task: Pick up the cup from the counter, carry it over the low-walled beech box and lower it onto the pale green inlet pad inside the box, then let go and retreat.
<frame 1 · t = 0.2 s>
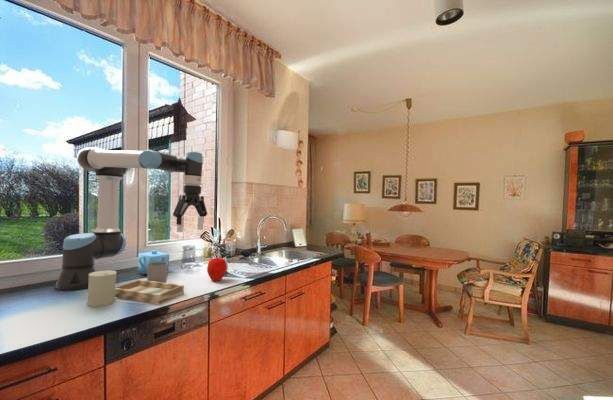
hand: (190, 230, 134), 27 cm above the counter, fingers open, 13 cm apart
apple: (216, 280, 151), on the counter
cup: (156, 284, 140), on the counter
can: (101, 302, 113), on the counter
teapot: (155, 275, 156), on the counter
box: (148, 294, 124), on the counter
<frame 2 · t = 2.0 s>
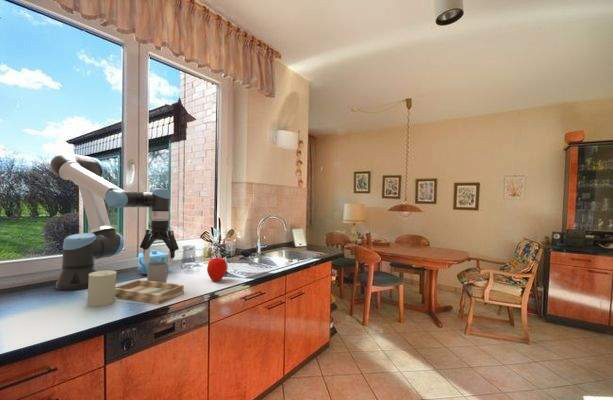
hand: (158, 263, 140), 10 cm above the counter, fingers open, 13 cm apart
nothing on the counter moved.
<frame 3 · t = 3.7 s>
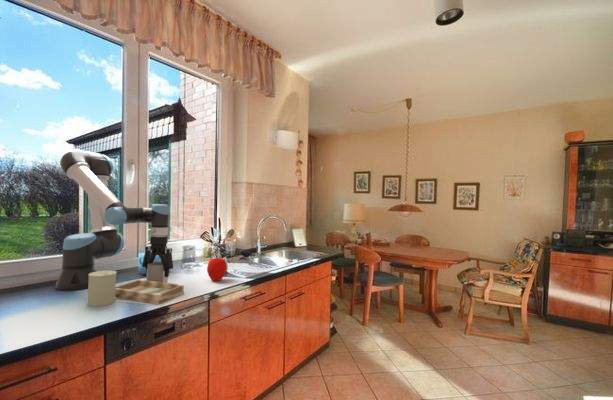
hand: (156, 282, 140), 1 cm above the counter, fingers closed on cup, 8 cm apart
cup: (156, 284, 140), on the counter, touching gripper
everything else where it was.
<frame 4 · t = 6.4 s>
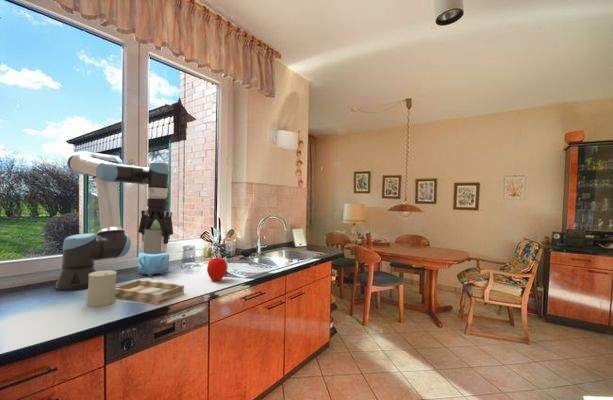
hand: (154, 250, 124), 19 cm above the counter, fingers closed on cup, 8 cm apart
cup: (154, 252, 124), point 18 cm above the counter, touching gripper
everything else where it was.
when the fingers open (4 cm above the counter, at t = 9.2 s): cup drops 1 cm, resting on box.
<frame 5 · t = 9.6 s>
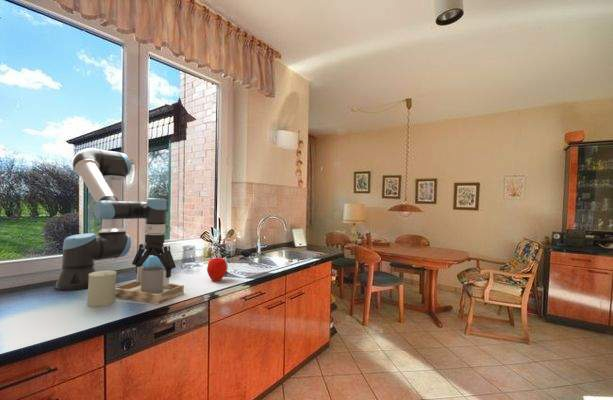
hand: (152, 283, 124), 5 cm above the counter, fingers open, 13 cm apart
cup: (151, 292, 124), point 1 cm above the counter, touching box
everything else where it was.
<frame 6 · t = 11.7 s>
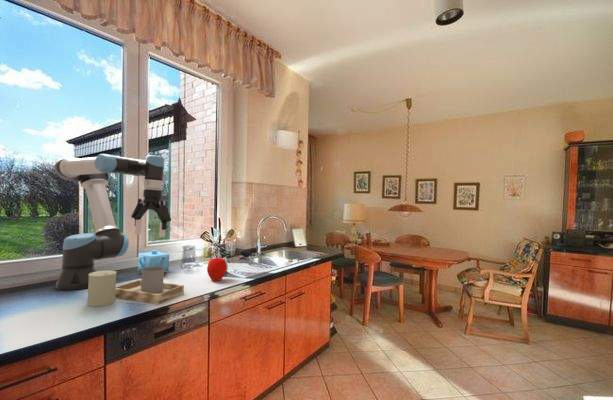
hand: (149, 235, 133), 25 cm above the counter, fingers open, 13 cm apart
nothing on the counter moved.
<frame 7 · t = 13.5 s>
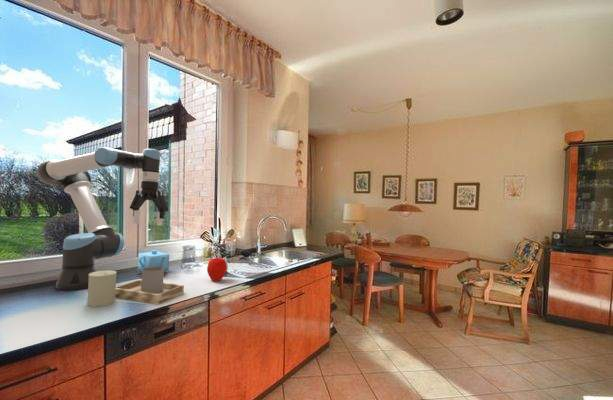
hand: (147, 224, 141), 29 cm above the counter, fingers open, 13 cm apart
nothing on the counter moved.
at the end: cup inside the target area on the box (1.8 cm from its centre), point 1.2 cm above the box's base; cup tilted 0°; the gripper is holding nothing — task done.
